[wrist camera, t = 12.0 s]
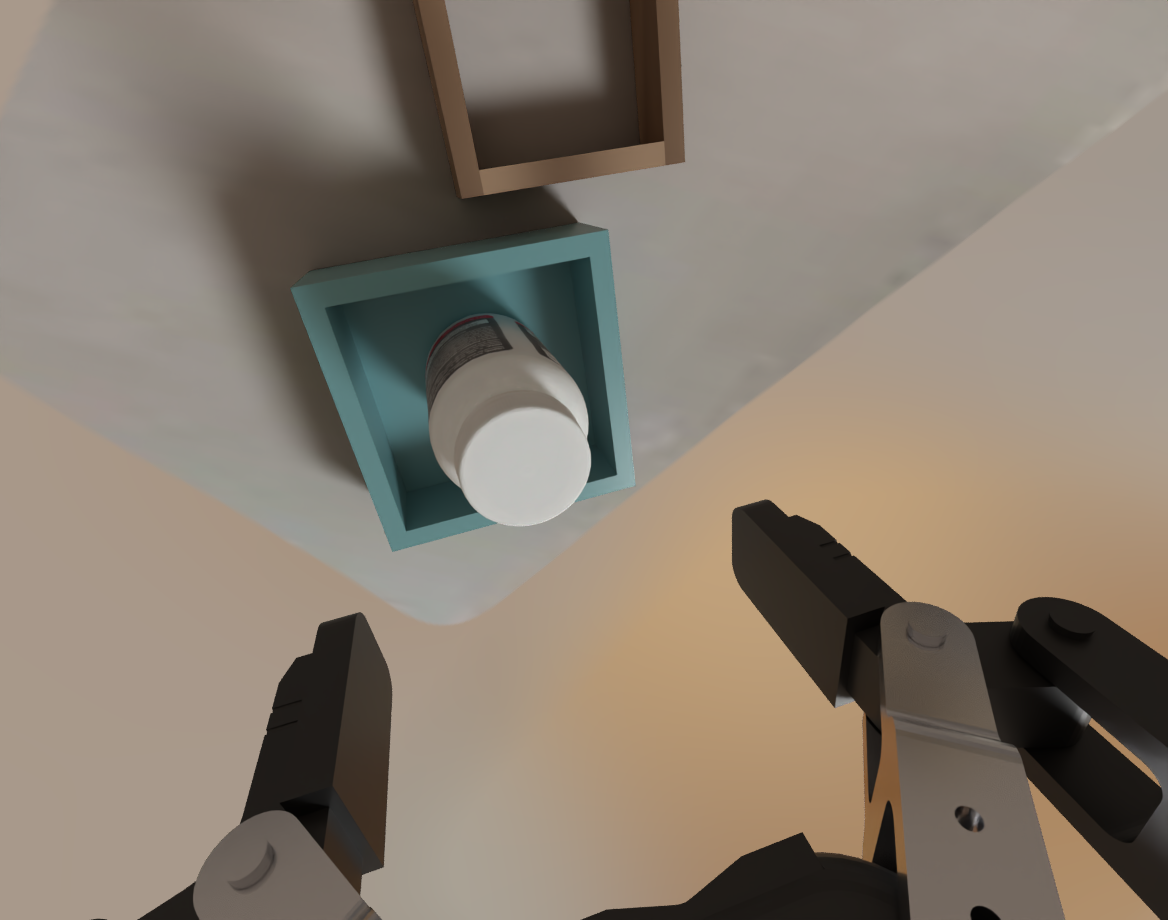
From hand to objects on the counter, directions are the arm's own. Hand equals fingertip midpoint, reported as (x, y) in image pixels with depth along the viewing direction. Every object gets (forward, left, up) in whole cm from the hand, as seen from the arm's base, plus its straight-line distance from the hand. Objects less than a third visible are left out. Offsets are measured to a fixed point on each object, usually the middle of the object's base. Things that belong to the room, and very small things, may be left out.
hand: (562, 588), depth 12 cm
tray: (0, 0, -16) cm, 16 cm away
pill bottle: (0, 0, -15) cm, 15 cm away
